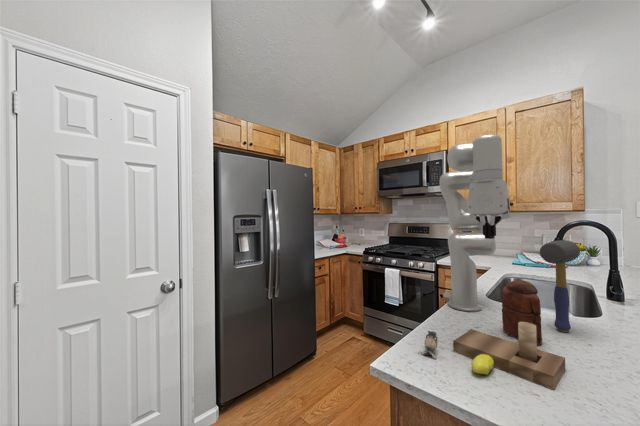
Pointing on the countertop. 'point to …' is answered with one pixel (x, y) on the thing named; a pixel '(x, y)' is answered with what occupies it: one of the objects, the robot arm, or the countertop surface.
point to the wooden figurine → (521, 307)
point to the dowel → (527, 341)
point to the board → (512, 357)
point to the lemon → (482, 364)
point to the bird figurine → (430, 344)
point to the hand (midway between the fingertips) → (489, 238)
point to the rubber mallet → (560, 277)
